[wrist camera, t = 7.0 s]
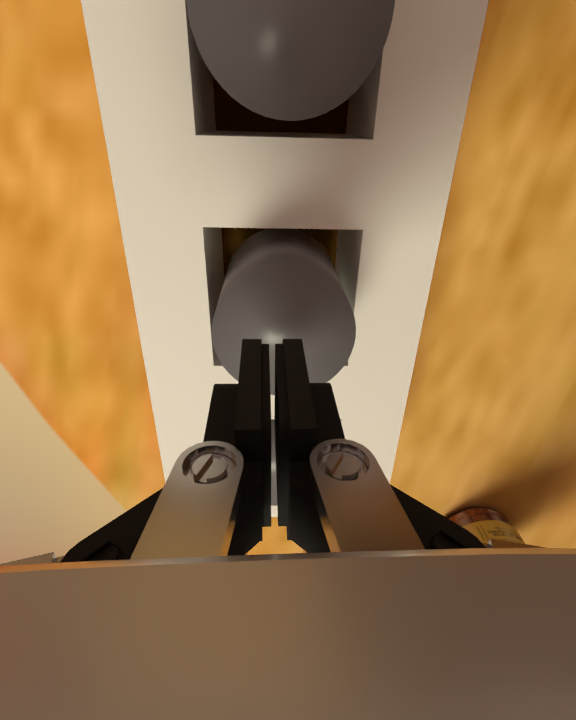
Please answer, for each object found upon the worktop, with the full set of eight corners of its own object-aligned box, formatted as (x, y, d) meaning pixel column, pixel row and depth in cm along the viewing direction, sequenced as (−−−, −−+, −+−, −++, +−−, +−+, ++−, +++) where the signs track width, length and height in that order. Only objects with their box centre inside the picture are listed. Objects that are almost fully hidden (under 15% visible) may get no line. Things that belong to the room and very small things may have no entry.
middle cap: (339, 228, 18) (363, 267, 13) (330, 331, 21) (348, 395, 16) (223, 226, 18) (206, 265, 13) (229, 330, 20) (216, 395, 16)
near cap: (362, -56, 14) (412, -150, 9) (348, 121, 16) (380, 122, 11) (208, -63, 13) (172, -163, 9) (218, 118, 16) (195, 118, 11)
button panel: (440, -72, 16) (522, -164, 11) (363, 444, 29) (383, 515, 24) (122, -87, 15) (47, -191, 10) (189, 445, 28) (171, 518, 23)
